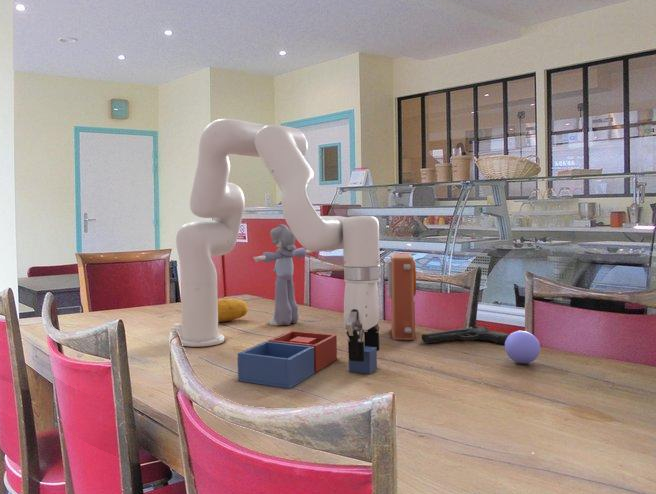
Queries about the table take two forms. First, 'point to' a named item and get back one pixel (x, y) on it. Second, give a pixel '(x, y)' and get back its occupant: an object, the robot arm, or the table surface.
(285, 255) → the toy
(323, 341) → the red bin
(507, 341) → the sphere
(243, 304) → the potato
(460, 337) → the handgun
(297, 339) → the red block
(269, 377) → the blue bin
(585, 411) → the table surface
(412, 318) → the control panel
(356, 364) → the blue block
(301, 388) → the table surface
